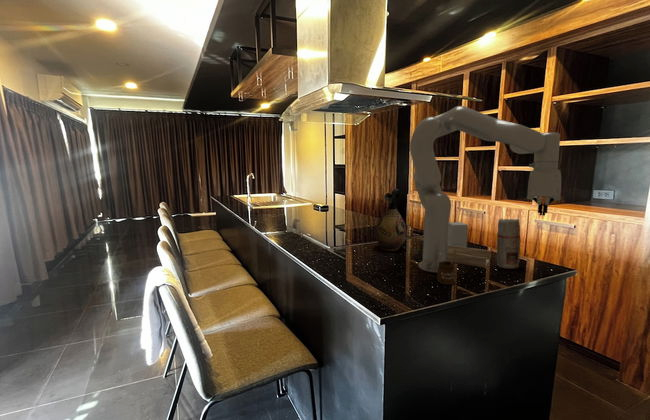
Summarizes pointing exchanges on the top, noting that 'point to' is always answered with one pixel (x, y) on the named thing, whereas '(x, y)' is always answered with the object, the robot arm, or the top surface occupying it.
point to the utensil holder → (446, 271)
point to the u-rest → (469, 256)
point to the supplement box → (457, 234)
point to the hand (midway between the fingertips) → (542, 214)
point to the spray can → (508, 243)
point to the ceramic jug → (391, 225)
